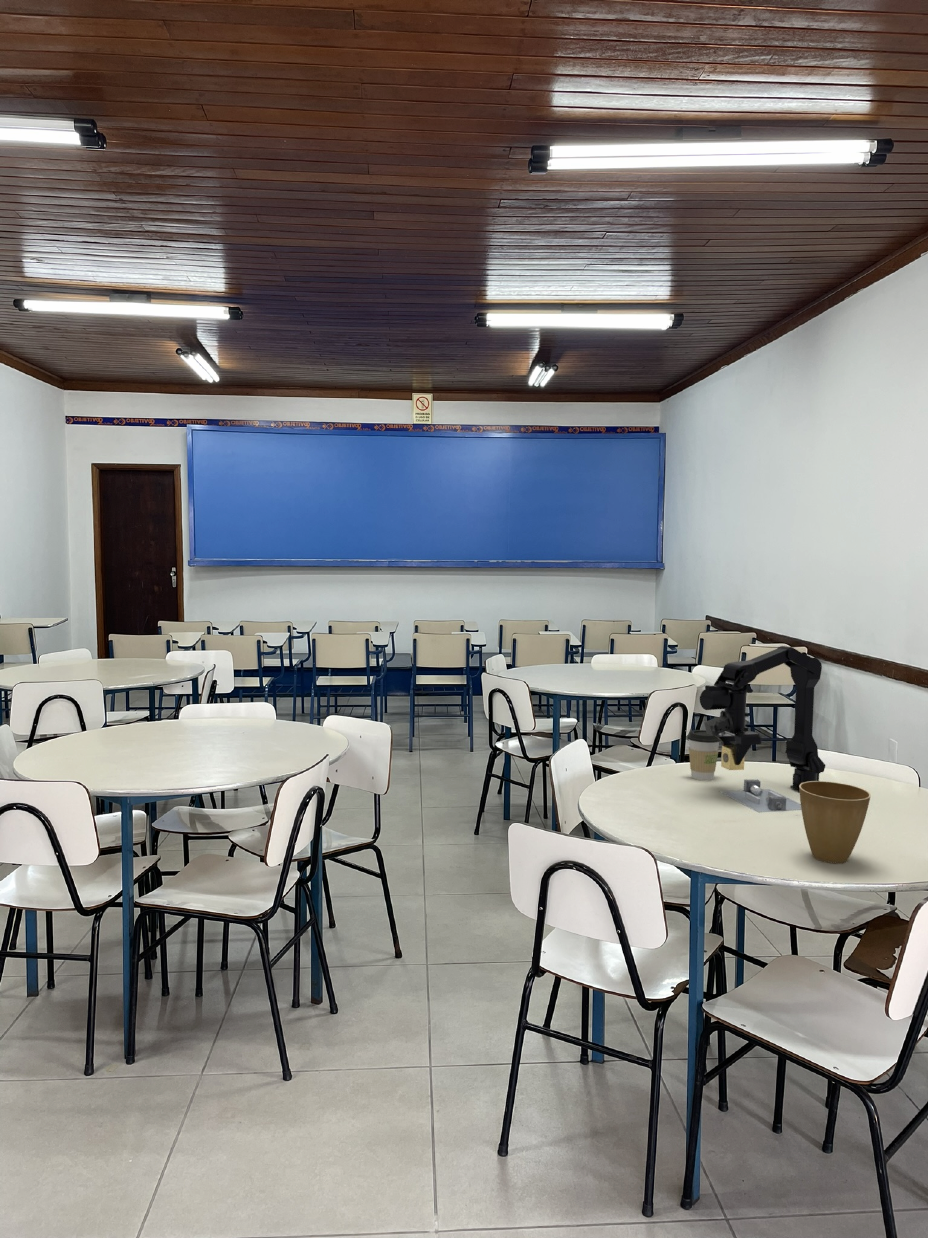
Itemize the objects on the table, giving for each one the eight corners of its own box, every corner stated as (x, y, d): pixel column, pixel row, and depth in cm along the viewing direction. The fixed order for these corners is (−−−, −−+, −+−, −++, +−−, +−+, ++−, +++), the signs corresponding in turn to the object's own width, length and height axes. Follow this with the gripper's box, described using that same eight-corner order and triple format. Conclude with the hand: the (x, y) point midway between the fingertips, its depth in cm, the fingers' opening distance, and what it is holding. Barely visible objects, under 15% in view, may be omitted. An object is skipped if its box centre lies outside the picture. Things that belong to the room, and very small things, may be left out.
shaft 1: (765, 796, 239) (765, 784, 239) (751, 796, 239) (751, 784, 239) (757, 790, 245) (757, 779, 244) (743, 790, 244) (744, 779, 244)
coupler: (735, 765, 242) (736, 745, 242) (744, 769, 238) (745, 748, 237) (720, 766, 241) (721, 745, 240) (729, 770, 237) (729, 749, 236)
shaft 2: (762, 804, 231) (763, 792, 231) (777, 804, 231) (777, 792, 231) (771, 810, 225) (771, 798, 225) (785, 810, 226) (786, 798, 225)
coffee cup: (723, 786, 253) (725, 736, 252) (690, 785, 253) (692, 736, 252) (714, 777, 263) (716, 730, 262) (682, 776, 263) (684, 729, 262)
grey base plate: (768, 793, 247) (769, 783, 246) (811, 813, 227) (812, 803, 227) (719, 795, 243) (719, 786, 243) (758, 816, 224) (758, 806, 223)
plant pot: (794, 863, 189) (797, 793, 188) (797, 843, 203) (800, 778, 202) (868, 874, 183) (872, 802, 182) (865, 853, 197) (869, 785, 196)
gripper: (692, 703, 245) (690, 756, 246) (726, 715, 227) (724, 772, 228) (727, 702, 248) (725, 754, 249) (763, 714, 230) (761, 770, 231)
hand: (732, 762), depth 239 cm, fingers closed on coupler, 4 cm apart
